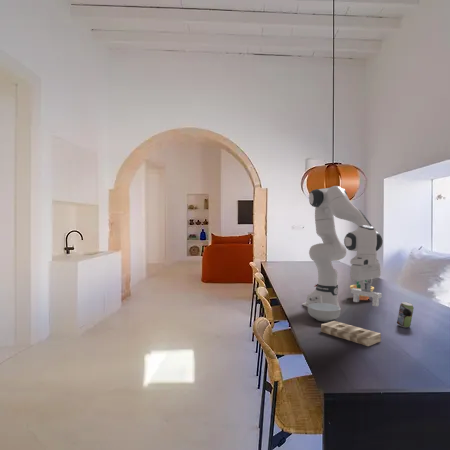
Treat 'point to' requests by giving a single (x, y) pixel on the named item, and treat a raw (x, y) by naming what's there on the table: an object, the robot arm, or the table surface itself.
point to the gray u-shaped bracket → (366, 294)
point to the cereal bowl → (324, 311)
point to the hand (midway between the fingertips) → (365, 288)
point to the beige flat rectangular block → (351, 333)
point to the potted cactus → (360, 288)
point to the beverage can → (405, 314)
